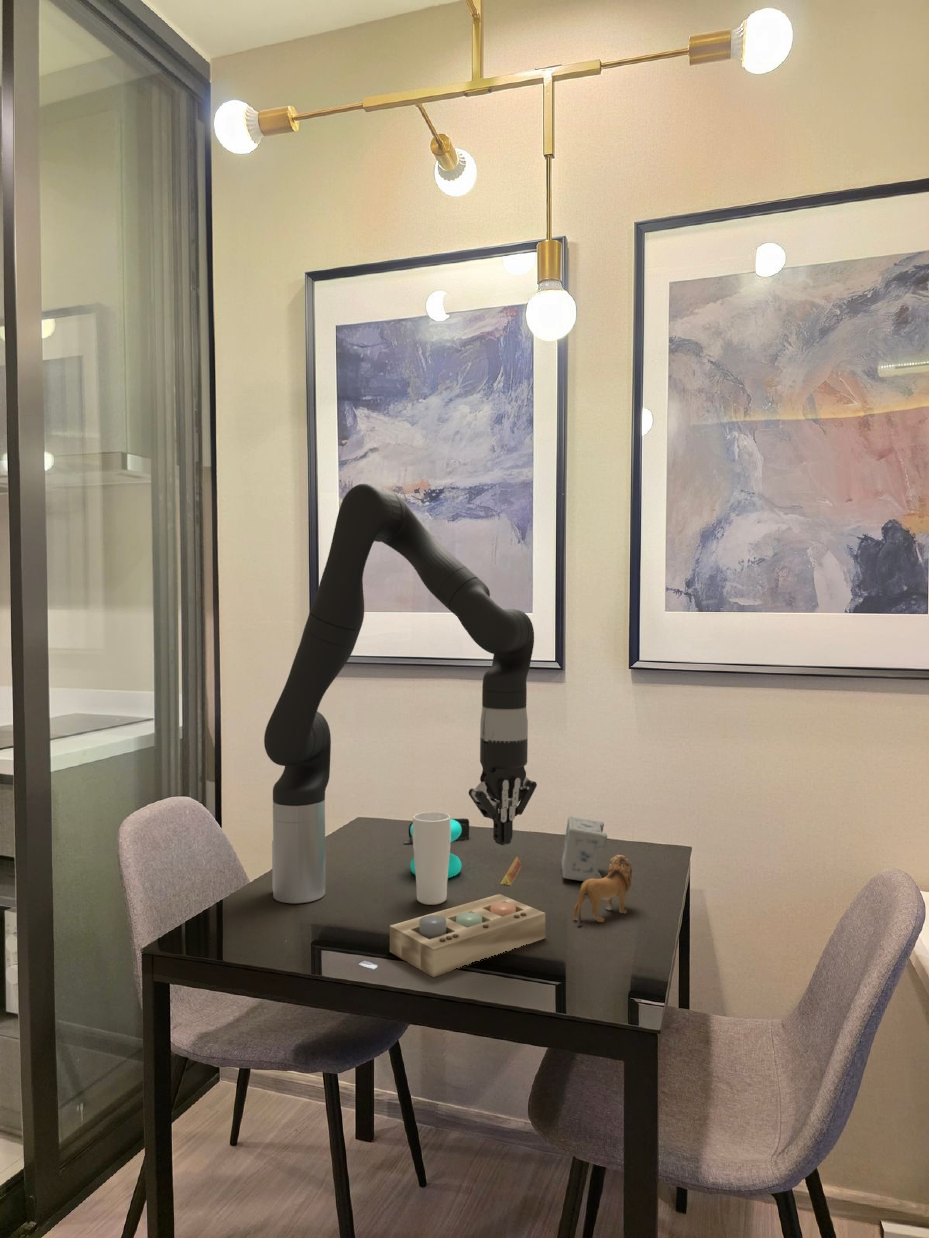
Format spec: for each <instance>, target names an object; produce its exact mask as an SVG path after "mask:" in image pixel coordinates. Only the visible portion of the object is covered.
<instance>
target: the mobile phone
mask: <svg viewBox="0 0 929 1238" xmlns="http://www.w3.org/2000/svg"><path fill="white" fill-rule="evenodd" d="M452 819H453V820H455V821H457V822H458V823H459V824H460V825H461V828H462V832H461V835H460V836H459V837H458V838H457V839H456V840H462V841H466V840H465V839H467V840H469V838H470V820H469V818H464V817H463V818H452ZM412 824H413V821H412V822H411V823H410V824H409V826H408V838H409V840H405V841H403V845H411V844H412V845H413V837H412V835H411V833H410V828H411V825H412ZM456 840H454V841H453V842H457V841H456Z"/></svg>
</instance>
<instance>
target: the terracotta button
mask: <svg viewBox="0 0 929 1238" xmlns="http://www.w3.org/2000/svg"><path fill="white" fill-rule="evenodd" d="M491 912H492V913H494V914H497V915H499V916H501V917H503V916H506V915H509V914H512V913H516V906H515V905H513V904H511V903H506V902H500V903H494V904H492V905H491Z"/></svg>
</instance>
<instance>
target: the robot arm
mask: <svg viewBox="0 0 929 1238" xmlns="http://www.w3.org/2000/svg"><path fill="white" fill-rule="evenodd" d="M339 506H340V507H339V510H338V512H337V518H336V521H335V526H334V529H333V530H334V532H333V535H332V539H331V544H330V548H329V552H328V555H327V559H326V563H325V566H324V569H323V572H322V576H321V578H320V582H319V585H318V588H317V591H316V594H315V597H314V601H313V603H312V605H311V608H310V610H309V614H308V615H307V619H306V622H305V626H304V628H303V631H302V635H301V639H300V642H299V646H298V648H297V650H296V654H295V656H294V659H293V662H292V665H291V668H290V671H289V674H288V677H287V679H286V683H285V685H284V687H283V689H282V690H281V694H280V695H279V698H278V700H277V702H276V704H275V707H274V709H273V711H272V714H271V716H270V717H269V720H268V722H267V725H266V727H265V731H264V738H263V744H264V751H265V753H266V755H267V757H268V758H269V760H270V761H271V762H272V763H273V764H276V765H278V766H281V767H284V769H283V771H282V774H281V776H280V777H279V779H278V780H277V781H276V782H275V783H274V785H273V788H272V843H271V847H272V848H271V850H272V851H271V853H272V854H271V855H272V857H271V859H272V861H271V862H272V865H271V867H272V871H271V872H272V876H271V877H272V885H271V886H272V890H271V891H272V892H273V893H272V894H273V895H272V897H273V899H275V901H278V902H280V903H285V904H304V903H305V904H306V903H310V902H313V901H314V902H315V901H317V900H320V899H322V898H323V897H324V896H325V895H326V789H327V787H328V784H329V781H330V776H331V775H330V772H331V755H332V754H331V753H332V752H331V749H332V745H331V744H332V737H331V736H332V735H331V730H330V725H329V724H328V721H327V719H326V717H324V715H323V714H322V713H321V712H320V711H318V710H319V707H320V704H321V702H322V699H323V697H324V695H325V694H326V691H327V690H328V688H329V687H330V686H331V685H332V683H333V682H334V681H335V679H336V678H337V677H338V675H339V674H340V672H341V671H342V670H343V668H344V667H345V665H346V664H347V662H348V661H349V660H350V657H351V655H352V654H353V651H354V649H355V646H356V644H357V641H358V638H359V634H360V632H361V628H362V626H363V623H364V619H365V598H364V597H365V595H364V582H363V581H364V579H363V578H364V572H365V567H366V563H367V560H368V558H369V555H370V552H371V549H372V546H373V544H374V542H376V543H383V544H385V545H386V546H388V547H390V549H393V550H394V551H396V552H397V553H399V554H400V555H401V556H402V557H403V558H404V559H406V560H407V561H408V563H409V564H410V565H411V566H412V567H413V569H414V570H415V571H416V573H417V575H418V576H419V578H420V580H421V581H422V583H423V585H424V586H425V587H426V589H427V590H428V591H429V592H430V593H431V594H432V595H433V596H434V597H435V599H437V601H439V603H441V604H442V605H444V607H446V609H448V610H449V611H450V612H451V613H452V614H453V615H455V617H457V618H458V621H459V622H460V623H461V626H462V627H463V628H464V630H465V631H466V633H468V635H469V637H470V638H471V639H472V640H473V642H475V644H477V645H478V647H480V648H481V649H483V650H484V651H486V652H488V653H489V654H493V656H492V663H491V667H490V668H489V669H488V670H487V671H486V672H485V673H484V675H483V679H482V686H481V687H482V688H481V689H482V691H481V692H482V693H481V695H482V696H481V699H482V700H481V706H482V707H481V715H480V722H479V723H480V725H479V727H480V731H479V732H480V733H479V734H480V735H479V737H480V738H479V762H480V764H481V767H482V772H481V774H480V778H479V780H480V782H479V784H478V785H477V786H476V787H475V788H470V789H469V791H468V795H469V797H470V798H471V800H472V801H473V803H474V804H475V806H476V807H477V808H478V810H479V812H480V813H481V815H482V816H483V817H484V818H488V819H491V820H492V822H493V825H492V826H493V829H492V830H493V836H492V838H493V841H495V843H496V844H497V845H501V846H506V845H510V844H511V842H512V839H513V832H514V831H513V829H514V828H513V821H514V820H515V817H517V816H519V815H520V816H521V815H523V812H524V811H525V810H526V807H527V805H528V803H529V801H530V799H531V798H532V796H533V794H534V792H535V790H536V788H537V786H538V785H537V782H536V781H533V780H531V779H529V777H527V771H526V769H525V766H526V765H528V746H529V745H528V740H529V739H528V737H529V732H528V731H529V725H528V724H529V722H528V721H529V719H528V712H527V697H528V696H527V694H528V693H527V679H528V674H529V670H530V667H531V663H532V657H533V656H532V655H533V650H534V645H535V632H534V624H533V623H532V620H531V618H530V617H529V616H528V615H527V614H526V612H524V611H522V610H520V609H515V608H507V609H503V608H501V606H499V605H498V604H497V603H496V602H495V601H494V600H493V599H492V598H491V597H490V596H491V593H490V589H489V588H488V586H487V585H486V583H485V582H484V581H482V580H481V579H480V578H479V577H478V576H477V575H475V574H474V573H473V571H472V570H470V569H469V568H468V567H467V566H466V565H464V564H463V563H462V562H461V561H460V560H459V559H458V558H457V557H456V556H454V555H453V554H452V553H451V552H450V551H448V550H447V549H446V548H445V547H444V546H443V545H442V544H441V543H440V542H439V541H438V540H437V539H436V538H435V537H434V536H433V534H431V532H430V531H429V530H428V528H426V526H424V524H423V523H422V522H421V521H420V519H419V518H418V516H416V514H415V513H414V512H413V510H412V509H411V507H410V506H409V505H408V504H407V503H406V502H405V500H404V499H403V498H402V497H401V496H400V495H399V494H398V493H397V492H394V491H393V490H390V489H387V488H384V487H380V486H377V485H373V484H369V483H359V484H357V485H355V486H353V487H352V488H351V489H349V490H348V491H347V493H345V496H344V497H343V498H342V501H341V503H340V505H339Z"/></svg>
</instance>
